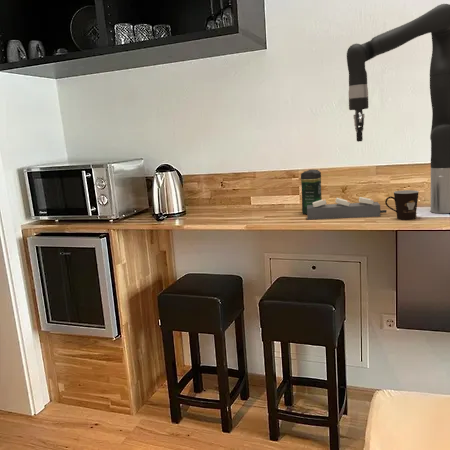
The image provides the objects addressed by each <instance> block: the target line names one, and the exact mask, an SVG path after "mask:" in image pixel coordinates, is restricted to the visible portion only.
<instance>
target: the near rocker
mask: <svg viewBox="0 0 450 450" xmlns="http://www.w3.org/2000/svg"><path fill="white" fill-rule="evenodd" d="M373 202H375V201H374V199H373V198H368V197H361V196H359V197H358V203H367V204H372V205H373Z"/></svg>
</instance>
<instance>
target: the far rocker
mask: <svg viewBox="0 0 450 450" xmlns="http://www.w3.org/2000/svg"><path fill="white" fill-rule="evenodd" d="M324 204H325V205H326V204H327V200H326V198H322V200H319V201H316V202H313V207H317V206H321V205H324Z"/></svg>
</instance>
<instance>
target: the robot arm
mask: <svg viewBox="0 0 450 450" xmlns="http://www.w3.org/2000/svg"><path fill="white" fill-rule="evenodd" d="M426 34H430V35H431V43H432V46H431V47H432V48H431V49H432V50H431V57H430V64H429V65H430V66H429V93H430V105H431V110H432V116H431V117H432V120H431V129H430V136H429V139H430V212H431V213H432V214H433V213H434V214H450V4H449V3H441V4H437V6H435V7H433V8H432V9H430V10H429V11H427V12H425V13H424V14H422V15H420V16H418V17H416V18H415V19H413V20H411V21H408V22H406V23H404V24H402V25H400V26H397V27H394V28H392V29H390V30H388V31H385V32H382V33H380V34H377V35H375V36H374V37H372V38H371V39H370V40H369V41H366V42H364V43H361V44H360V43H353V44H351V45H350V46H348V48H347V51H346V63H347V70H348V110H349V111H354V112H355V113H354V114H353V121H354V122H353V123H354V129H355V132H356V142H363V140H364V139H363V132H364V125H365V113H363V110H367V109H369V87H368V73H367V70H366V62H368V61H370V60H372V59H374V58H375V57H377V56H379V55H383V54H385V53H388V52H390V51H393V50H395V49H397V48H399V47H401V46H403V45H405V44H406V43H409V42H411V41H412V40H414V39H416V38H419V37H421V36H423V35H426Z"/></svg>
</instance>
